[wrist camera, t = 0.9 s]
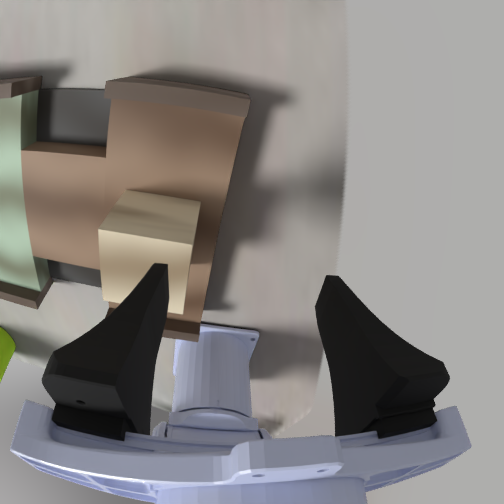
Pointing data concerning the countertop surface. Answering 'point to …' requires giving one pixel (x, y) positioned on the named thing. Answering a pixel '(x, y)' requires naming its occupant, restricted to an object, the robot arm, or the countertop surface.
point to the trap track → (108, 176)
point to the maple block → (147, 244)
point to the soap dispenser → (5, 350)
